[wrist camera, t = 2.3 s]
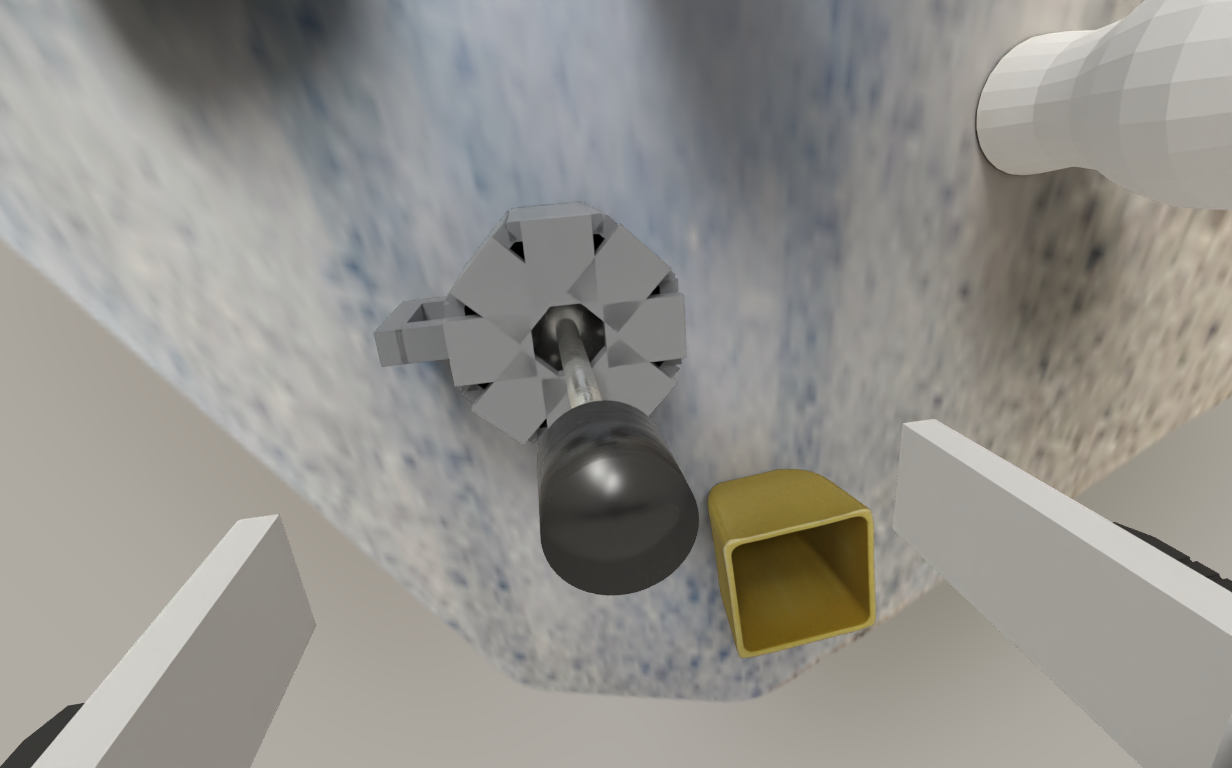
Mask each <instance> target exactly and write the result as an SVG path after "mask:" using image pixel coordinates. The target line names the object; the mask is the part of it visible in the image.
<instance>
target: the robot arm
mask: <svg viewBox="0 0 1232 768" xmlns="http://www.w3.org/2000/svg"><path fill="white" fill-rule="evenodd" d="M892 529H893V530H894V531H895V532H896V533H897V534H898V535H899V536H900V537H901V538H902V539H903V540H904V541H905V542H906V543H907V544H908V545H909V546H910V547H912V548H913V549H914V550H915V551H916V552H917V553H918V554H919V555H920V556H921V557H922V558H923V559H924V560H925V561H926V562H927V563H928V564H929V565H930V566H932V567H933V568H934V569H935V570H936V571H937V572H938V573H939V574H940V575H941V576H942V577H943V578H944V579H945V580H946V581H947V582H948V583H949V584H951V585H952V586H953V587H954V588H955V589H956V590H957V591H958V592H959V593H960V594H961V595H962V596H963V597H964V598H965V599H966V600H967V601H968V602H969V603H970V604H972V605H973V606H974V607H975V608H976V609H977V610H978V611H979V612H980V613H981V614H982V615H983V616H984V617H985V618H986V619H987V620H988V621H989V622H991V623H992V624H993V625H994V626H995V627H996V628H997V629H998V630H999V631H1000V632H1001V633H1002V634H1003V635H1004V636H1005V637H1006V638H1007V639H1008V640H1009V641H1011V643H1013V644H1014V645H1015V646H1016V647H1017V648H1018V649H1019V650H1020V651H1021V652H1022V653H1023V654H1024V655H1025V656H1026V657H1027V658H1028V659H1029V660H1031V662H1033V663H1034V664H1035V665H1036V666H1037V667H1038V668H1039V669H1040V670H1041V671H1042V672H1043V673H1044V674H1045V675H1046V676H1047V677H1048V678H1050V680H1051V681H1053V682H1054V683H1055V684H1056V685H1057V686H1058V687H1059V688H1060V689H1061V690H1062V691H1063V692H1064V693H1065V694H1066V695H1067V696H1068V697H1069V698H1070V699H1071V700H1073V701H1074V702H1075V703H1076V704H1077V705H1078V706H1079V707H1080V708H1081V709H1082V710H1083V711H1084V712H1085V713H1086V714H1087V715H1088V716H1089V717H1091V718H1092V719H1093V720H1094V721H1095V722H1096V723H1097V724H1098V725H1099V726H1100V727H1101V728H1102V729H1103V730H1104V731H1105V732H1106V733H1107V734H1108V735H1109V736H1111V737H1112V738H1113V739H1114V740H1115V741H1116V742H1117V743H1118V744H1119V745H1120V746H1121V747H1122V748H1123V749H1124V750H1125V751H1126V752H1127V753H1128V754H1129V755H1130V756H1131V757H1133V758H1134V759H1135V760H1136V761H1137V762H1138V763H1139V764H1140V765H1141V766H1142V767H1143V768H1232V581H1231V580H1229V579H1222V578H1221V577H1220V576H1219V574H1218V573H1217V572H1215V571H1213V570H1211V569H1210V568H1208V567H1206V566H1204V565H1203V564H1201V563H1199V562H1197V561H1195V562H1192V561H1191V560H1190V557H1189V556H1187V555H1185V554H1183V553H1182V552H1180V551H1178V550H1176V549H1174V548H1173V547H1171V546H1169V545H1167V544H1166V543H1164V542H1162V541H1160V540H1159V539H1157V538H1155V537H1153V536H1150V535H1147V534H1145V533H1142V532H1139V531H1137V530H1134V529H1131V528H1129V527H1126V526H1123V525H1120V524H1118V523H1115V522H1110V521H1109V520H1107V519H1105V518H1103V517H1102V516H1100V515H1098V514H1097V513H1095V512H1093V511H1092V510H1090V509H1088V508H1086V507H1085V506H1083V505H1081V504H1079V503H1078V502H1076V501H1074V500H1073V499H1071V498H1069V497H1068V496H1066V495H1064V494H1062V493H1061V492H1059V491H1057V490H1056V489H1054V488H1052V487H1050V486H1049V485H1047V484H1045V483H1044V482H1042V481H1040V480H1038V479H1037V478H1035V477H1033V476H1032V475H1030V474H1028V473H1026V472H1025V471H1023V470H1021V469H1020V468H1018V467H1016V466H1014V465H1013V464H1011V463H1009V462H1008V461H1006V460H1004V459H1002V458H1001V457H999V456H997V455H996V454H994V453H992V452H990V451H989V450H987V449H985V448H984V447H982V446H980V445H978V444H977V443H975V442H973V441H972V440H970V439H968V438H966V437H965V436H963V435H961V434H960V433H958V432H956V431H954V430H953V429H951V428H949V427H948V426H946V425H944V424H942V423H941V422H939V421H937V420H936V419H930V420H923V421H916V422H909V423H903V424H902V434H901V444H900V455H899V465H898V475H897V486H896V496H895V506H894V517H893V527H892ZM315 626H316V623H315V620H314V617H313V614H312V611H311V608H310V605H309V602H308V599H307V596H306V593H305V590H304V587H303V584H302V581H301V577H300V574H299V571H298V568H297V565H296V562H295V559H294V556H293V553H292V550H291V547H290V544H289V541H288V538H287V535H286V532H285V529H284V526H283V523H282V520H281V517H280V514H276V515H269V516H262V517H255V518H249V519H242V520H238V521H237V522H236V523H235V525H234V526H233V527H232V528H231V529H230V530H229V532H228V533H227V534H226V535H225V536H224V538H223V539H222V540H221V541H220V542H219V544H218V545H217V546H216V547H215V549H214V550H213V551H212V552H211V553H210V554H209V556H208V557H207V558H206V559H205V560H204V562H203V563H202V564H201V565H200V566H199V568H198V569H197V570H196V571H195V572H194V574H193V575H192V576H191V577H190V578H189V579H188V581H187V582H186V583H185V584H184V585H183V587H182V588H181V589H180V590H179V591H178V593H177V594H176V595H175V596H174V597H173V599H172V600H171V601H170V602H169V604H168V605H167V606H166V607H165V608H164V609H163V611H162V612H161V613H160V614H159V615H158V617H157V618H156V619H155V620H154V621H153V623H152V624H151V625H150V626H149V627H148V628H147V630H146V631H145V632H144V633H143V634H142V636H141V637H140V638H139V639H138V641H137V642H136V643H135V644H134V645H133V646H132V648H131V649H130V650H129V651H128V652H127V654H126V655H125V656H124V657H123V658H122V660H121V661H120V662H119V663H118V664H117V666H116V667H115V668H114V669H113V670H112V671H111V673H110V674H109V675H108V676H107V677H106V679H105V680H104V681H103V682H102V683H101V685H100V686H99V687H98V688H97V689H96V691H95V692H94V693H93V694H92V696H91V697H90V698H89V699H88V700H87V701H86V703H81V704H75V705H70V706H67V707H66V708H64V709H63V710H62V711H61V712H59V713H58V714H57V715H56V716H54V717H53V718H52V719H51V720H49V721H48V722H47V723H46V724H44V725H43V726H42V727H40V728H39V729H38V730H37V731H35V732H34V733H33V734H32V735H30V736H29V737H28V738H26V739H25V740H24V741H23V742H22V743H21V744H20V745H19V746H18V747H17V749H16V750H15V751H14V752H13V753H12V754H11V755H10V756H9V758H8V759H7V760H6V761H5V762H4V763H3V764H2V765H1V767H0V768H250V766H251V765H252V762H253V760H254V758H255V756H256V754H257V752H258V750H259V747H260V745H261V743H262V741H263V739H264V737H265V734H266V732H267V730H268V728H269V725H270V724H271V722H272V719H273V717H274V715H275V713H276V711H277V709H278V706H279V704H280V702H281V700H282V698H283V696H284V694H285V691H286V689H287V687H288V685H289V683H290V681H291V678H292V676H293V674H294V672H295V670H296V668H297V666H298V664H299V661H300V659H301V657H302V655H303V653H304V650H305V648H306V646H307V644H308V642H309V640H310V638H311V635H312V633H313V631H314V629H315Z"/></svg>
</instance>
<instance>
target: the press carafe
mask: <svg viewBox="0 0 1232 768" xmlns="http://www.w3.org/2000/svg"><path fill="white" fill-rule="evenodd" d="M674 276H675V274H674V273H673V272H672V271H671V268H670V267H669V266H668V265H667V264H666V263H665V262H663V261H662V260H661V259H660V258H659V257H658V256H657V255H655V254H654V253H653V252H652V251H651V250H650V249H649V248H648V247H646V246H645V245H644V244H643V243H642V242H641V241H640V240H638V239H637V238H636V237H635V236H634V235H633V234H632V233H630V232H629V231H628V230H627V229H626V228H625V227H624V226H622V225H621V224H620V223H618V224H617V223H616V222H615V221H614V220H613V219H611V218H610V217H609V216H608V215H607V214H605V213H603V212H601V211H599V210H597V209H595V208H593V207H591V206H589V205H587V204H585V203H584V204H583V203H581V202H573V203H562V204H552V205H541V206H530V207H519V208H511V211H507V212H506V213H505V215H504V216H503V217H502V219H501V220H500V221H499V223H498V224H497V225H496V226H495V228H494V229H493V230H492V232H491V233H490V234H489V236H488V237H487V238H486V240H485V241H484V242H483V244H482V245H481V246H480V248H479V249H478V250H477V251H476V253H475V254H474V255H473V257H472V258H471V259H470V261H469V262H468V263H467V265H466V266H465V268H464V270H463V271H462V273H461V274H460V276H459V278H458V279H457V281H456V282H455V284H454V286H453V287H452V289H451V290H450V292H449V294H448V295H447V296H446V297H437V298H428V299H419V300H409V301H403V302H402V303H401V304H400V305H399V306H398V307H397V308H396V309H395V310H394V311H393V312H392V313H391V314H390V316H389V317H388V318H387V319H386V320H385V321H384V322H383V323H382V324H381V325H380V326H379V327H378V328H377V329H376V330H375V332H374V337H375V341H376V345H377V350H378V354H379V358H380V362H381V367H386V366H394V365H402V364H411V363H419V362H427V361H436V360H444V359H449V361H450V366H451V371H452V376H453V382H454V387H457V386H459V390H460V392H464V393H463V397H465V398H466V399H468V400H469V401H471V402H472V403H473V404H472V408H471V411H472V412H474V413H475V414H477V415H478V416H480V417H481V418H483V419H484V420H486V421H487V422H489V423H490V424H492V425H493V426H495V427H496V428H498V429H499V430H501V431H502V432H504V433H505V434H507V435H508V436H510V437H511V438H513V439H514V440H516V441H517V442H519V443H520V444H522V445H524V444H525V443H526V442H527V440H529V441H531V442H532V443H534V442H535V441H536V440H537V439H538V445H539V444H541V441H542V439H543V437H544V435H545V433H546V432H547V430H548V429H549V427H550V426H551V425H552V424H553V423H554V422H555V421H556V420H557V419H558V418H559V417H560V416H561V415H563V414H564V413H566V412H567V411H569V410H570V409H571V405H570V400H569V395H568V390H567V385H566V380H565V375H564V371H563V370H562V371H557V370H556V369H554V368H553V367H551V366H550V365H549V364H547V363H546V362H545V361H543V360H542V359H541V358H539V357H538V356H536V355H535V353H534V346H533V339H532V331H531V330H532V329H533V327H534V326H535V325H536V324H537V322H538V321H539V320H540V319H541V317H542V316H543V315H544V314H545V312H546V311H547V310H548V309H549V308H550V307H553V306H561V305H570V304H579V303H581V304H582V305H584V306H585V307H586V308H587V309H589V310H590V311H591V312H592V313H594V314H595V315H596V316H597V317H599V318H600V319H601V320H602V323H603V334H604V345H605V346H604V347H603V348H602V349H601V351H600V352H599V353H598V354H597V355H596V356H595V358H594V359H593V360H592V361H591V362H590V365H591V368H592V371H593V374H594V377H595V380H596V382H597V385H598V388H599V391H600V394H601V397H602V400H609V401H618V402H623V403H626V404H629V405H631V406H634V407H636V408H638V409H639V410H641V411H642V412H644V413H645V414H646V415H647V416H649V415H650V414H651V413H652V412H653V411H654V409H655V408H656V407H657V406H658V405H659V404H660V403H661V401H662V400H663V399H664V398H665V397H666V396H667V395H668V393H669V392H670V391H671V390H672V389H673V388H674V387H675V386H676V384H677V383H676V382H675V381H674V379H673V378H672V377H673V376H674V374H675V373H676V372H677V371H678V370H679V369H680V368H679V367H678V366H677V364H681V358H687V357H686V332H685V307H684V295H683V294H682V293H681V292H678V279H677V278H675V277H674Z"/></svg>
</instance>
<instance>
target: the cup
mask: <svg viewBox="0 0 1232 768" xmlns="http://www.w3.org/2000/svg"><path fill="white" fill-rule="evenodd" d="M977 134H978V138H979V143H980V147H981V148H982V150H983V152H984V154H985V156H986V158H987V159H988V160H989V161H990V162H991V163H992V164H993V165H994V166H995V167H996V168H997V169H999V170H1001V171H1004V172H1006V173H1008V174H1012V175H1031V174H1038V173H1044V172H1049V171H1054V170H1059V169H1064V168H1069V167H1073V166H1074V167H1081V168H1087V169H1094V170H1097V171H1098V172H1099V173H1101V174H1102V175H1103V176H1105V177H1106V178H1107V179H1109V180H1110V181H1111V182H1112V183H1114V184H1116V185H1118V186H1120V187H1122V188H1124V189H1127V190H1129V191H1131V192H1133V193H1136V194H1139V195H1141V196H1144V197H1147V198H1149V199H1152V200H1155V201H1157V202H1160V203H1163V204H1165V205H1168V206H1171V207H1183V208H1199V209H1216V210H1232V0H1145V1H1143V2H1142V3H1141V4H1140V5H1139V6H1138V7H1137V8H1135V9H1134V10H1133V11H1132V12H1131V13H1130V14H1128V15H1127V16H1126V17H1125V18H1124V19H1122V20H1120V21H1117V22H1115V23H1112V24H1110V25H1107V26H1105V27H1102V28H1100V29H1097V30H1091V31H1067V32H1059V33H1050V34H1045V35H1040V36H1035V37H1032V38H1030V39H1028V40H1026V41H1024V42H1022V43H1020V44H1018V45H1016V46H1015V47H1014V48H1013V49H1012V50H1011V51H1010V52H1009V53H1007V54H1006V55H1005V56H1004V57H1003V58H1002V59H1001V60H1000V62H999V63H998V64H997V66H996V67H995V68H994V70H993V71H992V73H991V74H990V76H989V78H988V80H987V82H986V84H985V86H984V89H983V91H982V93H981V97H980V101H979V105H978V109H977Z"/></svg>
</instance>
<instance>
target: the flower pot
mask: <svg viewBox="0 0 1232 768" xmlns="http://www.w3.org/2000/svg"><path fill="white" fill-rule="evenodd" d="M708 510H709V516H710V522H711V528H712V535H713V541H714V548H715V554H716V562H717V570H718V578H719V586H720V592H721V596H722V600H723V604H724V607H725V611H726V614H727V618H728V621H729V624H730V628H731V631H732V635H733V638H734V642H735V645H736V649H737V652H738V655H739V656H740V658H749V657H755V656H760V655H765V654H769V653H773V652H777V651H781V650H785V649H789V648H792V647H796V646H800V645H804V644H808V643H812V642H815V641H819V640H823V639H827V638H831V637H834V636H838V635H842V634H847V633H851V632H854V631H858V630H861V629H864V628H867V627H869V626H872V625H874V623H875V620H876V601H875V575H874V521H873V515H872V512H871V510H870V509H869V508H867V507H866V506H864V505H863V504H862V503H860V502H859V501H858V500H856V499H855V498H854V497H852V496H851V495H849V494H848V493H847V492H845V491H844V490H842V489H841V488H840V487H838V486H837V485H835V484H834V483H833V482H831V481H830V480H828V479H826V478H825V477H823V476H821V475H819V474H816V473H813V472H810V471H806V470H798V469H780V470H773V471H769V472H765V473H761V474H756V475H752V476H748V477H744V478H740V479H735V480H731V481H726V482H721V483H719V484H717V485H715V486H714V487H713V488H712V489H711V491H710V493H709V497H708Z"/></svg>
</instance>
